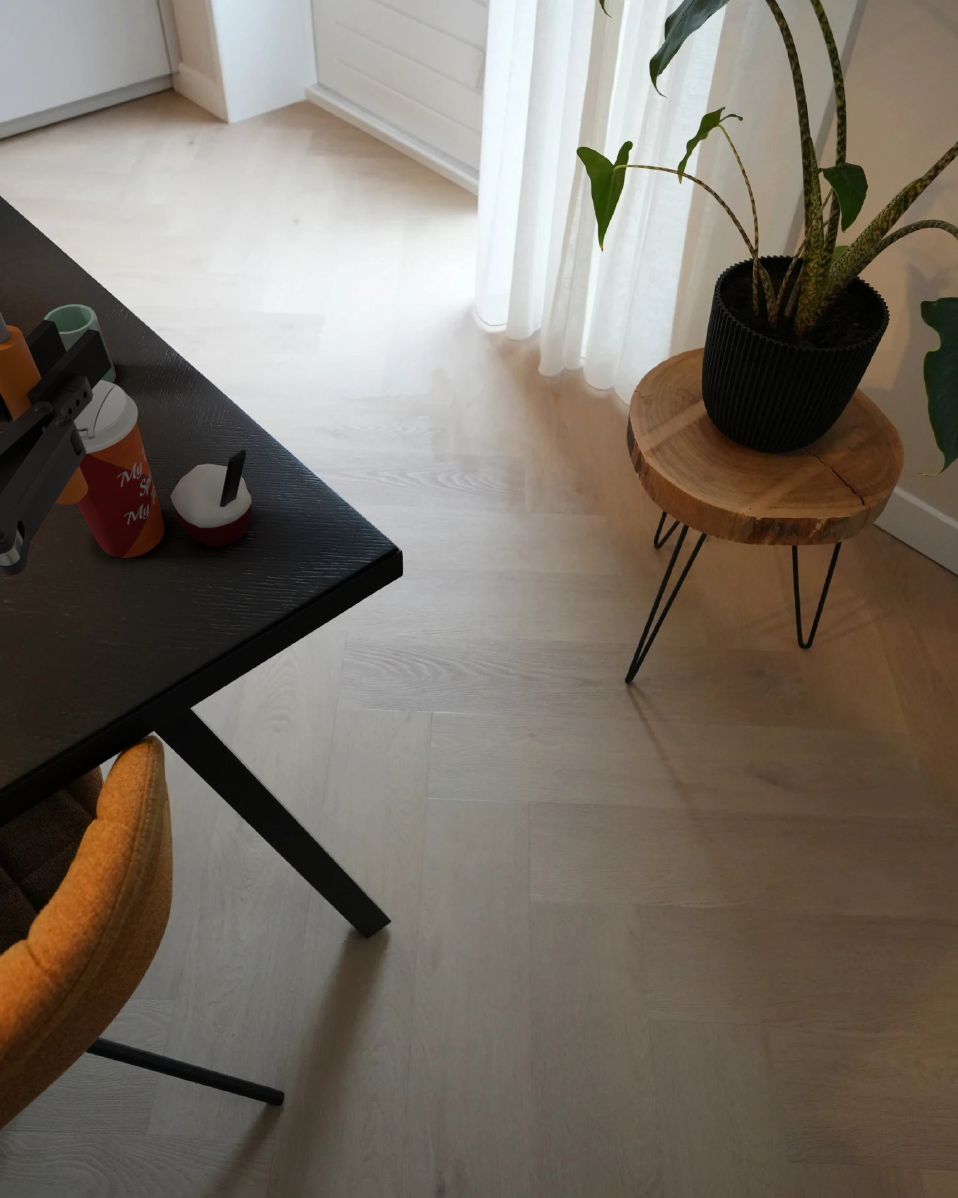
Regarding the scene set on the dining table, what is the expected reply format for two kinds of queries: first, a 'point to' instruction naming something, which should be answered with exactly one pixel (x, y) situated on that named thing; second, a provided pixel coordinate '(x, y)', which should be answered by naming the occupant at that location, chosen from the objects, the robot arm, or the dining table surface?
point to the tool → (13, 373)
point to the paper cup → (117, 476)
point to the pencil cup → (78, 328)
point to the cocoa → (214, 502)
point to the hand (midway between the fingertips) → (77, 343)
